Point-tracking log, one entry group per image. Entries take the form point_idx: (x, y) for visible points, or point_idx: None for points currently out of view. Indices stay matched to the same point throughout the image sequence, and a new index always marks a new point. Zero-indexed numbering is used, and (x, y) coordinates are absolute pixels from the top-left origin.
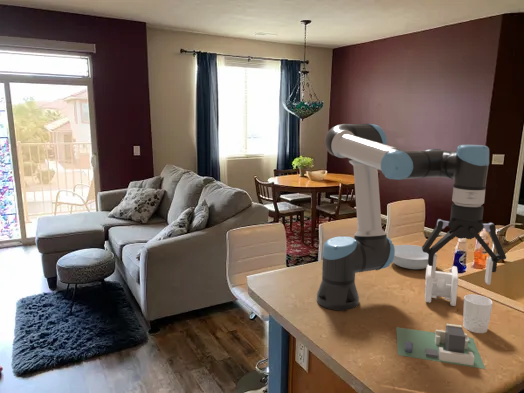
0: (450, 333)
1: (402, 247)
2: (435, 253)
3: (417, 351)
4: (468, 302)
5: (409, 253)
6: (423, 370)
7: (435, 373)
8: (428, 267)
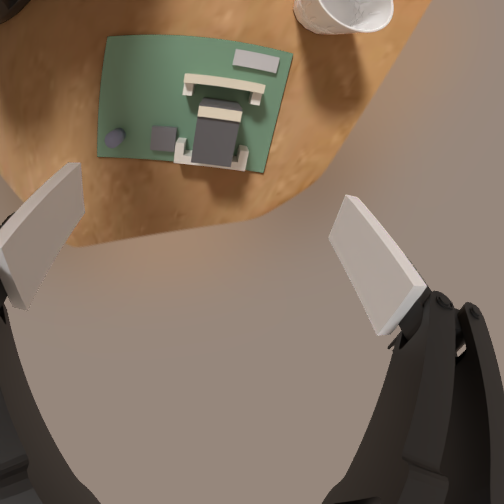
0: (195, 156)
1: None
2: (2, 256)
3: (136, 132)
4: (317, 2)
5: None
6: (141, 190)
7: (161, 195)
8: None
